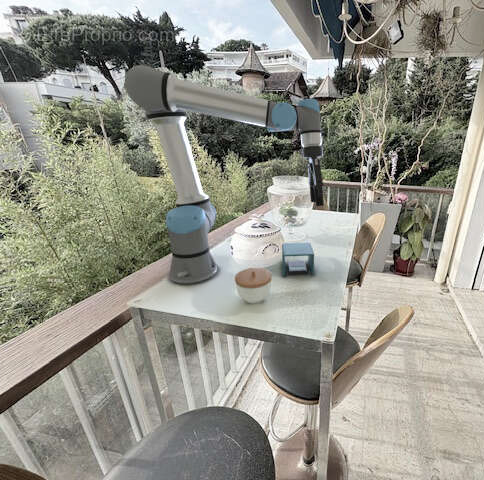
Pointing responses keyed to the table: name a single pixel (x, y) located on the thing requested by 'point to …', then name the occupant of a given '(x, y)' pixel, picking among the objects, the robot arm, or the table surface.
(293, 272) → the calculator
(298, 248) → the cover
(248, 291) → the trinket box
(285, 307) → the table surface
